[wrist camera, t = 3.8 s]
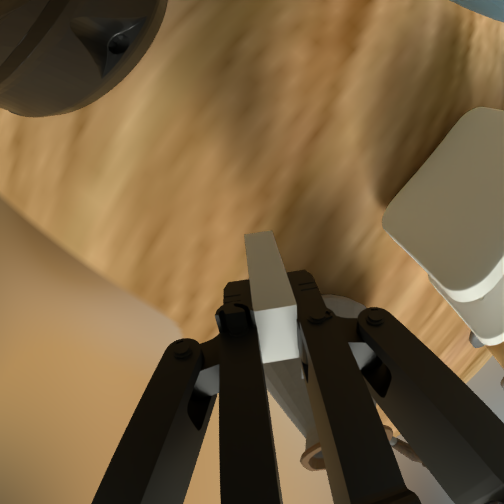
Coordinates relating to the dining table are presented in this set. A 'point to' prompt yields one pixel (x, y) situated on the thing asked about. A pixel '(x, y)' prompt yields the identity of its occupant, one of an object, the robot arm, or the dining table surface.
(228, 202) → the dining table surface
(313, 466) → the coffee pot
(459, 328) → the dining table surface
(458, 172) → the cable organizer
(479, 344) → the mushroom drawer knob
